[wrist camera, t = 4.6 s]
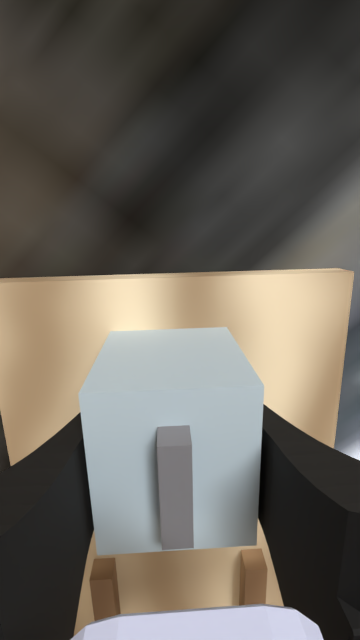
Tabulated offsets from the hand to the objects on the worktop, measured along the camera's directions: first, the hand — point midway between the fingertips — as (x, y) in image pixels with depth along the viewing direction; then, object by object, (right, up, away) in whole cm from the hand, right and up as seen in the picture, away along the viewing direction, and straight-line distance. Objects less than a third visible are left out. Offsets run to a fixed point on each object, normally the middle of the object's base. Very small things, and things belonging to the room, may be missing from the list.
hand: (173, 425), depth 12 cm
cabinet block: (0, +1, +2) cm, 2 cm away
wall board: (0, -4, +4) cm, 6 cm away
